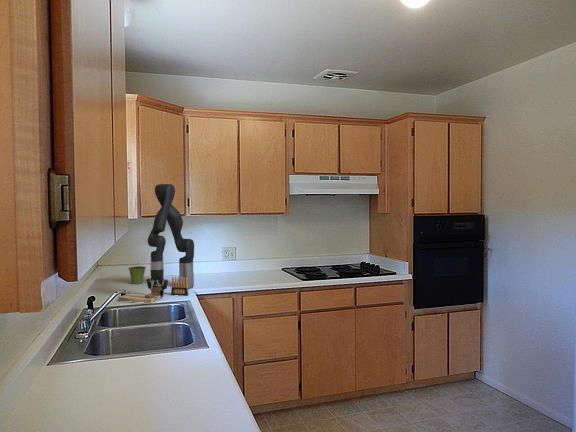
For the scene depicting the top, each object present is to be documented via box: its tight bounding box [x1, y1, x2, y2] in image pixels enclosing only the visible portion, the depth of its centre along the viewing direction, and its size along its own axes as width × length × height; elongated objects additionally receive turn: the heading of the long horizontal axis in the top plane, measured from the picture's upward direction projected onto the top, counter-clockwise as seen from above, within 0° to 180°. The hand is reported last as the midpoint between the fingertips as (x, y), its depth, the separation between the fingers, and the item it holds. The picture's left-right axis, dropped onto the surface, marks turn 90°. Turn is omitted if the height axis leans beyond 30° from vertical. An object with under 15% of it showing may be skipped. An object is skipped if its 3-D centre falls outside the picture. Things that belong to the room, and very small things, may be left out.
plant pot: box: [128, 265, 147, 285], centre depth 283 cm, size 12×12×11 cm
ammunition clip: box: [170, 275, 189, 297], centre depth 248 cm, size 11×2×12 cm, turn 82°
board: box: [117, 293, 162, 304], centre depth 235 cm, size 10×22×2 cm, turn 74°
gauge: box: [144, 285, 164, 299], centre depth 236 cm, size 12×5×8 cm, turn 164°
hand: (157, 295), depth 240 cm, fingers closed on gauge, 5 cm apart
